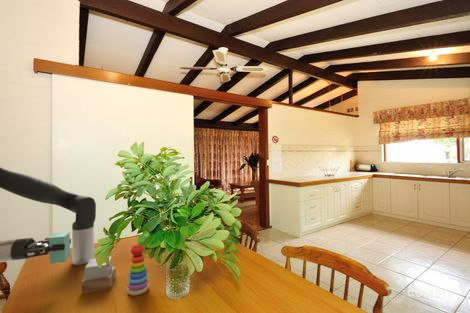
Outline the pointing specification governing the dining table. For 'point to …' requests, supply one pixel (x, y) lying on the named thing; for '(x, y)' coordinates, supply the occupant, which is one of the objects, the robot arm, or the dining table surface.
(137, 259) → the stacking toy
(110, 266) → the grey top block
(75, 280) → the dining table surface
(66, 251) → the teal pillar block
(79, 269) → the dining table surface
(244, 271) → the dining table surface
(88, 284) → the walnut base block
